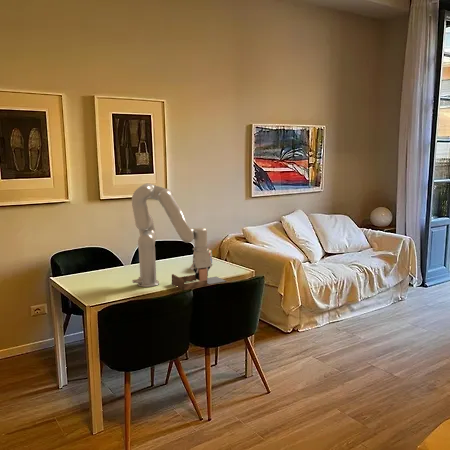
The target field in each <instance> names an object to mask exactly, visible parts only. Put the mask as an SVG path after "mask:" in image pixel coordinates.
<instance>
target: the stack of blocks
mask: <svg viewBox="0 0 450 450" xmlns="http://www.w3.org/2000/svg"><path fill="white" fill-rule="evenodd" d="M207 250H208V251H209V255H210V262H211V263H212V264H213V250H211V249H210V248H207Z"/></svg>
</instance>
